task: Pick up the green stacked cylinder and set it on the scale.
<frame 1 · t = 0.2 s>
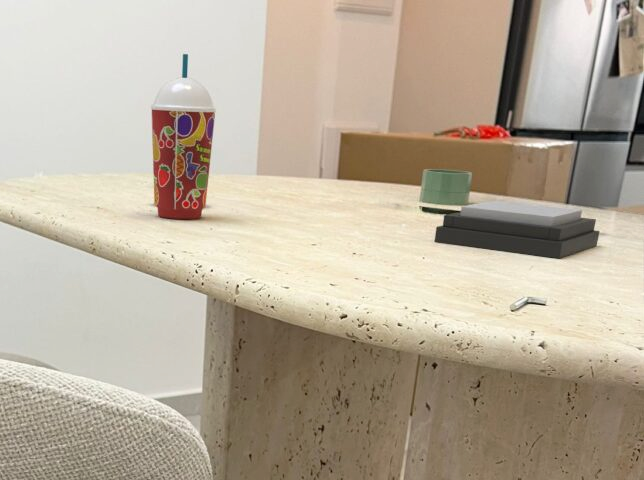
smoothie: (179, 218, 126), on the table
green stacked cylinder: (442, 212, 145), on the table
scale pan: (521, 214, 115), point 3 cm above the table, slide at 0.0 cm
scale: (516, 243, 116), on the table
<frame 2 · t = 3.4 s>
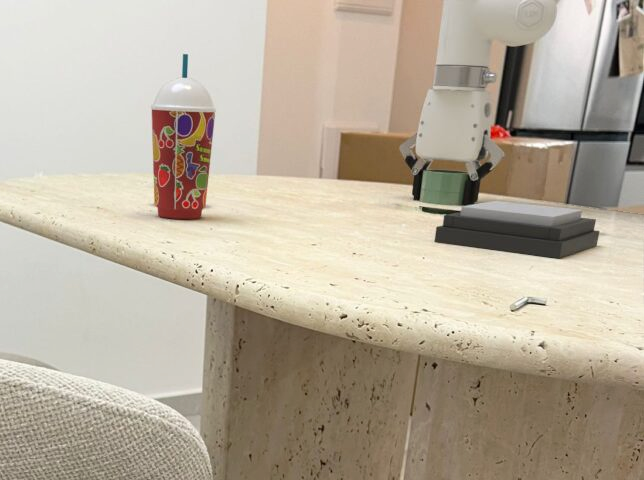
hand: (443, 203, 144), 1 cm above the table, tool pointing down, fingers closed on green stacked cylinder, 7 cm apart
green stacked cylinder: (442, 212, 145), on the table, touching gripper
everything else where it was.
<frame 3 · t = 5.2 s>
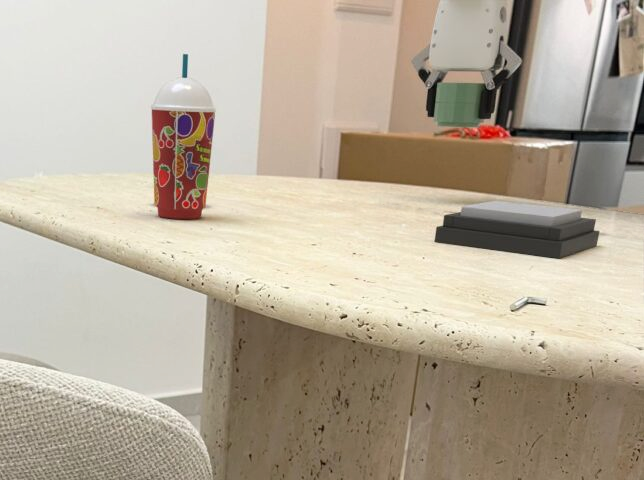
hand: (458, 117, 140), 14 cm above the table, tool pointing down, fingers closed on green stacked cylinder, 7 cm apart
green stacked cylinder: (457, 126, 140), point 12 cm above the table, touching gripper
everything else where it was.
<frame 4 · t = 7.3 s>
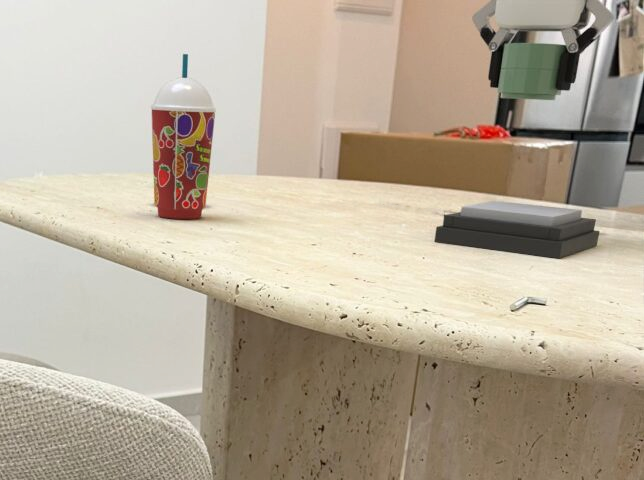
hand: (529, 87, 113), 18 cm above the table, tool pointing down, fingers closed on green stacked cylinder, 7 cm apart
green stacked cylinder: (527, 99, 113), point 17 cm above the table, touching gripper
everything else where it was.
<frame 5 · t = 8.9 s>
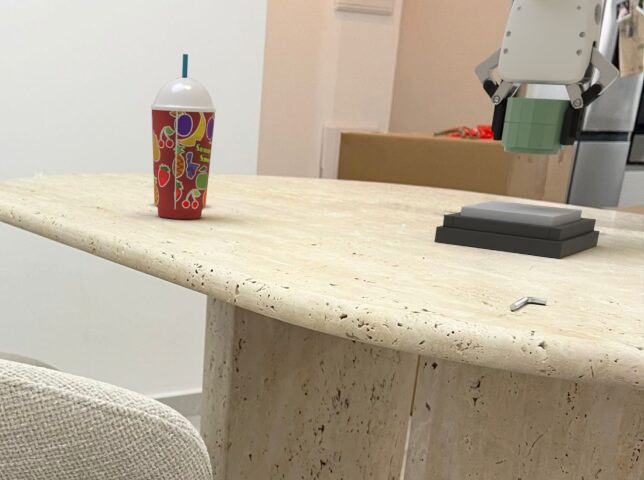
hand: (533, 141, 111), 12 cm above the table, tool pointing down, fingers closed on green stacked cylinder, 7 cm apart
green stacked cylinder: (531, 152, 112), point 11 cm above the table, touching gripper
everything else where it was.
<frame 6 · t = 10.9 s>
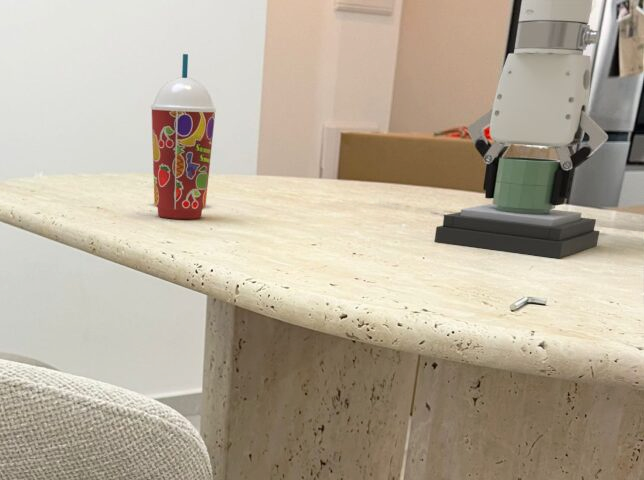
hand: (524, 200, 114), 5 cm above the table, tool pointing down, fingers closed on green stacked cylinder, 7 cm apart
green stacked cylinder: (522, 210, 114), point 4 cm above the table, touching gripper, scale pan
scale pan: (520, 217, 115), point 3 cm above the table, slide at -0.3 cm, touching green stacked cylinder
everything else where it was.
when the fingers open (5 cm above the table, at t = 11.0 s): green stacked cylinder stays where it is, resting on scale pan.
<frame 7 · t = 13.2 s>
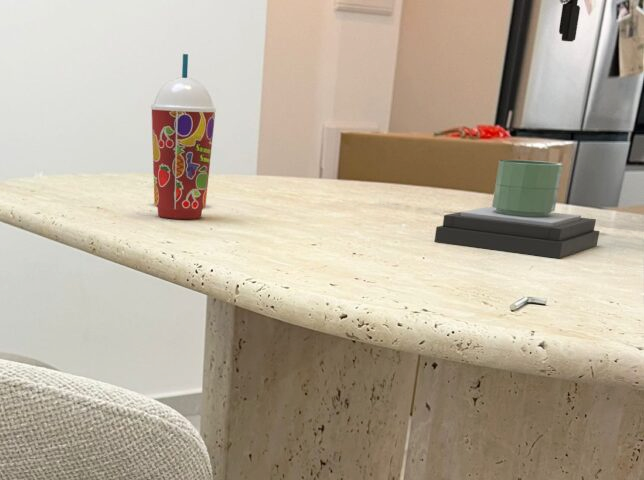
hand: (609, 40, 112), 23 cm above the table, tool pointing down, fingers open, 9 cm apart
green stacked cylinder: (521, 213, 114), point 4 cm above the table, touching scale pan
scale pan: (520, 220, 115), point 3 cm above the table, slide at -0.6 cm, touching green stacked cylinder
everything else where it was.
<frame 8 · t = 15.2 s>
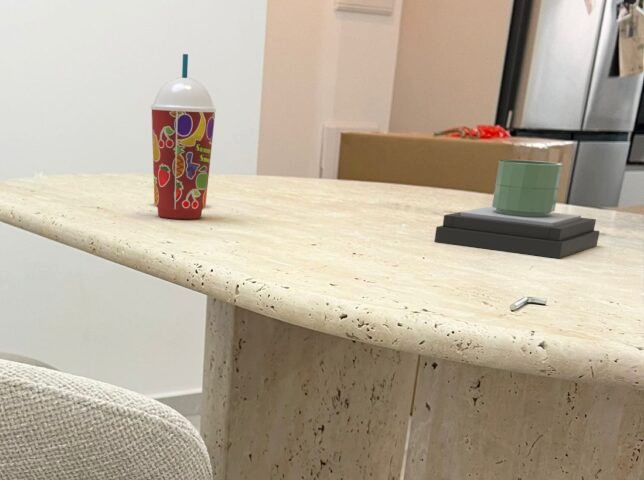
nothing on the table moved.
at the end: green stacked cylinder inside the target area on the scale (0.0 cm from its centre), point 3.6 cm above the scale's base; green stacked cylinder tilted 0°; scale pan slide at -0.6 cm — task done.
